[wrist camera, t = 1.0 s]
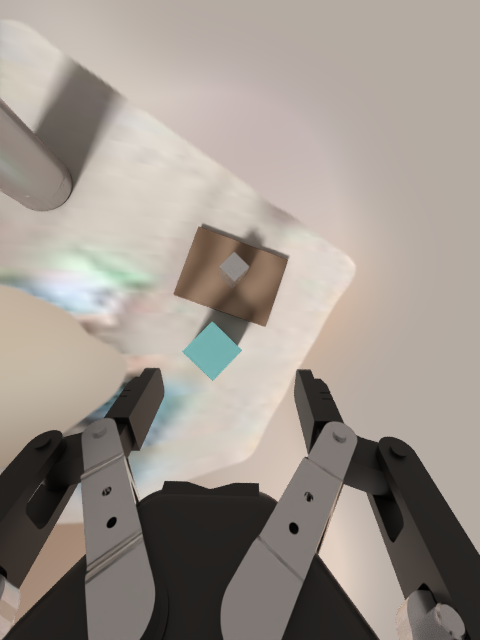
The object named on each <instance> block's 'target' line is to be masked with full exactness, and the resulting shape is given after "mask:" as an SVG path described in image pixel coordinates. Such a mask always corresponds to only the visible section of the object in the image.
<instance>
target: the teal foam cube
mask: <svg viewBox="0 0 480 640" xmlns="http://www.w3.org/2000/svg"><path fill="white" fill-rule="evenodd" d="M241 351H242V350H241V349H240V348H239V347H238V346H237V345H236V344H235V343H234V342H233V341H232V340H231V339H230V338H229V337H228V336H227V335H226V334H225V333H224V332H223V331H222V330H221V329H220V328H219V327H218V326H217V325H216V324H214V323H213V322H211V323H210V324H209V325H208V326H207V327H206V328H205V329H204V330H203V331H202V332H201V333H200V334H199V335H198V336H197V337H196V338H195V339H194V340H193V341H192V342H191V343H190V344H189V345H188V346H187V347H186V348H185V349H184V350H183V351H182V352H183V353H184V354H185V355H186V356H187V357H188V358H189V359H190V360H191V361H192V362H194V363H195V364H196V365H197V366H198V367H199V368H200V369H201V370H202V371H203V372H204V373H205V374H206V375H207V376H208V377H209V378H210V379H211V380H212V381H213V380H214V379H215V378H216V377H217V376H218V375H219V374H220V373H221V372H222V371H223V370H224V369H225V368H226V367H227V366H228V365H229V363H230V362H231V361H232V360H233V359H234V358H235V357H236V356H237V355H238V354H239V353H240V352H241Z"/></svg>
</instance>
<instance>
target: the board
mask: <svg viewBox="0 0 480 640" xmlns="http://www.w3.org/2000/svg"><path fill="white" fill-rule="evenodd" d="M233 252H235V253H236V254H237V255H238V256H239V257H240V258H241V259H242V260H243V261H244V262H245V263H246V264H247V265H248V266H249V269H248V271H247V273H246V275H245V277H244V278H243V279H242V280H241V281H240V282H239V283H238V284H237V285H236V286H235V287H234V288H233V289H232V288H231V287H230V286H229V285H228V284H226V283H225V282H224V281H223V280H222V279H221V278H220V277H219V266H220V265H221V264H222V263H223V262H224V261H225V260H226V259H227V258H228V257H229V256H230V255H231V254H232V253H233ZM287 261H288V260H287V259H284V258H281V257H279V256H276V255H273V254H271V253H268V252H265V251H263V250H260V249H257V248H255V247H252V246H249V245H247V244H244V243H241V242H239V241H236V240H233V239H231V238H228V237H225V236H223V235H220V234H217V233H215V232H212V231H209V230H207V229H204V228H201V227H198V229H197V232H196V235H195V237H194V240H193V243H192V246H191V248H190V251H189V254H188V256H187V259H186V262H185V264H184V267H183V270H182V273H181V275H180V278H179V281H178V283H177V286H176V289H175V292H174V295H176V296H179V297H181V298H184V299H187V300H190V301H193V302H196V303H199V304H201V305H204V306H207V307H210V308H213V309H216V310H219V311H221V312H224V313H227V314H230V315H233V316H236V317H239V318H241V319H244V320H247V321H250V322H253V323H256V324H258V325H261V326H264V327H265V326H266V324H267V321H268V318H269V315H270V312H271V309H272V306H273V303H274V300H275V297H276V294H277V291H278V288H279V285H280V282H281V279H282V276H283V273H284V270H285V267H286V264H287Z"/></svg>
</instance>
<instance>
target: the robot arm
mask: <svg viewBox="0 0 480 640" xmlns="http://www.w3.org/2000/svg"><path fill="white" fill-rule="evenodd" d="M71 188H72V180H71V176H70V174H69V171H68V170H67V168H66V167H65V166H64V165H63V164H62V163H61V162H60V161H59V159H58V158H57V157H56V156H55V155H54V154H53V153H52V152H51V151H50V150H49V149H48V148H47V147H46V146H45V145H44V143H43V142H42V141H41V140H40V139H39V138H38V137H37V136H36V135H35V134H34V133H33V132H32V131H31V130H30V129H29V128H28V127H27V126H26V124H25V123H24V122H23V121H22V120H21V119H20V118H19V117H18V116H17V115H16V114H15V113H14V112H13V111H12V110H11V109H10V108H9V107H8V105H7V104H6V103H5V102H4V101H3V100H2V99H1V98H0V191H2V192H3V193H5V194H6V195H8V196H10V197H11V198H13V199H14V200H16V201H18V202H19V203H21V204H22V205H24V206H26V207H27V208H30V209H32V210H37V211H48V210H52V209H54V208H57V207H59V206H60V205H61V204H63V203H64V202H65V201H66V199H67V198H68V196H69V195H70V192H71ZM163 397H164V385H163V380H162V375H161V371H160V369H159V368H145V369H144V371H143V372H142V374H141V375H140V377H135V378H134V379H132V380H131V381H130V382H129V383H128V384H127V385H126V387H125V388H124V390H123V391H122V392H121V394H120V395H119V397H118V398H117V400H116V401H115V403H114V404H113V405H112V407H111V408H110V410H109V411H108V413H107V414H106V416H105V417H104V418H103V419H100V420H97V421H95V422H93V423H92V424H90V425H89V426H88V427H87V428H86V429H85V430H84V432H82V433H78V434H74V435H70V436H66V437H64V436H63V435H62V433H61V432H60V431H57V430H52V431H48V432H45V433H42V434H40V435H38V436H37V437H35V438H34V439H33V440H31V441H30V442H29V443H28V444H27V445H26V446H25V447H24V449H23V450H22V451H21V452H20V453H19V454H18V455H17V456H16V458H15V459H14V460H13V461H12V462H11V463H10V464H9V466H8V467H7V468H6V469H5V470H4V471H3V472H2V474H1V475H0V640H379V638H378V637H377V635H376V634H375V632H374V631H373V630H372V628H371V627H370V625H369V624H368V623H367V621H366V620H365V619H364V617H363V616H362V614H361V613H360V612H359V610H358V609H357V608H356V606H355V605H354V604H353V602H352V601H351V600H350V598H349V597H348V595H347V594H346V593H345V591H344V590H343V588H342V587H341V586H340V584H339V583H338V582H337V580H336V579H335V577H334V576H333V575H332V573H331V572H330V570H329V569H328V568H327V566H326V565H325V564H324V562H323V561H322V559H321V558H320V557H319V555H318V554H319V552H320V549H321V546H322V543H323V541H324V538H325V535H326V532H327V529H328V526H329V523H330V520H331V518H332V515H333V512H334V510H335V507H336V504H337V501H338V499H339V496H340V493H341V490H342V488H343V485H344V484H345V485H348V486H351V487H353V488H356V489H359V490H362V491H365V492H366V493H367V496H368V499H369V501H370V504H371V507H372V510H373V512H374V515H375V518H376V521H377V523H378V526H379V529H380V532H381V534H382V537H383V540H384V543H385V545H386V548H387V551H388V554H389V556H390V559H391V562H392V565H393V567H394V570H395V573H396V576H397V579H398V581H399V584H400V587H401V590H402V592H403V595H404V598H405V602H404V603H403V604H402V605H401V606H400V608H399V609H398V612H397V617H396V625H397V631H398V636H399V640H480V555H479V554H478V552H477V550H476V549H475V547H474V545H473V544H472V542H471V541H470V539H469V538H468V536H467V534H466V533H465V531H464V529H463V528H462V526H461V525H460V523H459V521H458V520H457V518H456V517H455V515H454V513H453V512H452V510H451V509H450V507H449V505H448V504H447V502H446V501H445V499H444V497H443V496H442V494H441V493H440V491H439V490H438V488H437V486H436V485H435V483H434V482H433V480H432V479H431V477H430V475H429V473H428V472H427V470H426V469H425V467H424V466H423V464H422V462H421V461H420V459H419V457H418V456H417V454H416V453H415V451H414V450H413V449H412V448H411V447H410V446H409V445H407V444H406V443H405V442H403V441H402V440H400V439H397V438H394V437H383V438H381V439H380V441H379V443H378V442H374V441H371V440H367V439H364V438H361V437H359V436H357V435H356V434H355V433H354V431H353V430H352V429H351V428H350V427H348V426H347V425H345V424H344V422H343V420H342V418H341V415H340V413H339V411H338V409H337V407H336V404H335V402H334V400H333V397H332V395H331V394H330V391H329V389H328V386H327V385H326V384H325V383H324V382H323V381H322V380H321V379H314V377H313V374H312V372H311V370H306V369H304V370H301V369H297V371H296V379H295V387H294V397H295V403H296V407H297V411H298V415H299V419H300V423H301V427H302V432H303V436H304V439H305V444H306V448H307V452H308V457H305V458H303V460H302V461H301V463H300V465H299V467H298V468H297V470H296V472H295V474H294V476H293V478H292V479H291V481H290V482H289V484H288V486H287V488H286V490H285V492H284V493H283V495H282V497H281V499H280V500H279V502H277V501H276V500H275V499H273V498H272V497H270V496H269V495H267V494H265V493H262V492H259V483H233V484H229V485H225V486H221V487H218V488H214V489H208V488H204V487H202V486H199V485H196V484H193V483H190V482H183V481H165V482H164V485H163V488H162V490H159V491H156V492H154V493H152V494H150V495H148V496H146V497H145V498H143V499H142V500H140V497H139V494H138V491H137V487H136V483H135V480H134V476H133V472H132V469H131V465H130V461H129V458H128V456H129V454H130V452H131V451H140V449H141V446H142V444H143V442H144V440H145V438H146V435H147V433H148V431H149V429H150V426H151V424H152V422H153V420H154V418H155V415H156V413H157V411H158V409H159V406H160V404H161V402H162V400H163ZM41 482H42V483H41ZM80 482H81V490H82V504H83V518H84V532H85V545H86V554H85V555H84V556H83V557H82V558H81V559H80V560H79V561H78V562H77V563H76V564H75V565H74V566H73V567H72V568H71V569H70V570H69V571H68V572H67V573H66V574H65V575H64V576H63V577H62V578H61V579H60V580H59V581H58V582H57V583H56V584H55V585H54V586H53V587H52V588H51V589H50V590H49V591H48V592H47V593H46V594H45V595H44V596H43V597H42V598H41V599H40V600H39V601H38V602H37V603H36V604H35V605H34V606H33V607H32V608H31V609H30V610H29V611H28V612H27V613H25V615H23V617H21V618H20V619H19V621H18V622H17V623H16V624H15V625H14V626H13V624H14V621H15V615H16V612H17V610H18V607H19V603H20V592H19V588H20V586H21V584H22V582H23V581H24V579H25V577H26V575H27V574H28V572H29V570H30V568H31V566H32V565H33V563H34V561H35V559H36V558H37V556H38V554H39V552H40V550H41V549H42V547H43V545H44V543H45V542H46V540H47V538H48V536H49V535H50V533H51V531H52V529H53V528H54V526H55V524H56V522H57V521H58V519H59V517H60V515H61V513H62V512H63V510H64V508H65V506H66V505H67V503H68V501H69V499H70V497H71V496H72V494H73V492H74V490H75V489H76V487H77V485H78V483H80ZM40 484H41V485H40ZM39 485H40V486H39ZM38 487H39V488H38ZM37 488H38V489H37ZM36 490H37V491H36ZM35 491H36V492H35ZM34 492H35V494H34ZM33 494H34V495H33ZM32 495H33V496H32ZM31 497H32V498H31ZM30 498H31V499H30ZM29 500H30V501H29ZM28 501H29V502H28Z"/></svg>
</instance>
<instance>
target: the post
mask: <svg viewBox="0 0 480 640" xmlns="http://www.w3.org/2000/svg"><path fill="white" fill-rule="evenodd" d="M248 269H249V266H248V265H247V264H246V263H245V262H244V261H243V260H242V259H241V258H240V257H239V256H238V255H237V254H236V253H235V252H233V253H232V254H231V255H230V256H229V257H228V258H227V259H226V260H225V261H224V262H223V263H222V264H221V265H220V266H219V277H220V278H221V279H222V280H223V281H224V282H225V283H226V284H228V285H229V286H230V287H231V288H232V289H233V288H234V287H235V286H236V285H237V284H238V283H239V282H240V281H241V280H242V279H243V278H244V277H245V275H246V273H247V271H248Z"/></svg>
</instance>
